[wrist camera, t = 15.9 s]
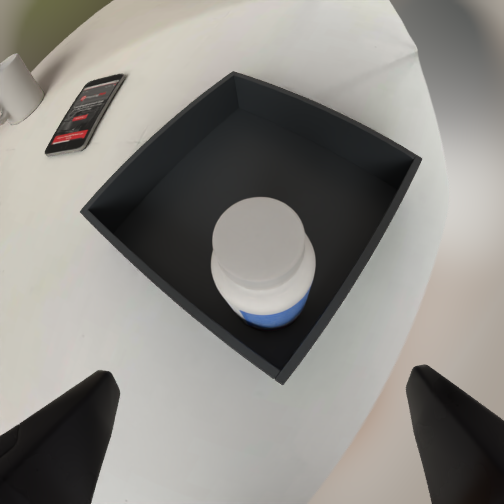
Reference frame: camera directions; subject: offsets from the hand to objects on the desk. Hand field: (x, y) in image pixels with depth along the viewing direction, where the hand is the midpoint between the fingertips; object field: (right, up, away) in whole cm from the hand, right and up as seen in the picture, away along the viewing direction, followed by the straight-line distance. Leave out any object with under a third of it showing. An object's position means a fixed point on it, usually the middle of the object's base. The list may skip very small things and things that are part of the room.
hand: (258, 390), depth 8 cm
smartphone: (-23, +23, +26) cm, 41 cm away
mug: (-41, +28, +30) cm, 58 cm away
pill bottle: (+1, +1, +14) cm, 14 cm away
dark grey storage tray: (0, +7, +17) cm, 19 cm away
